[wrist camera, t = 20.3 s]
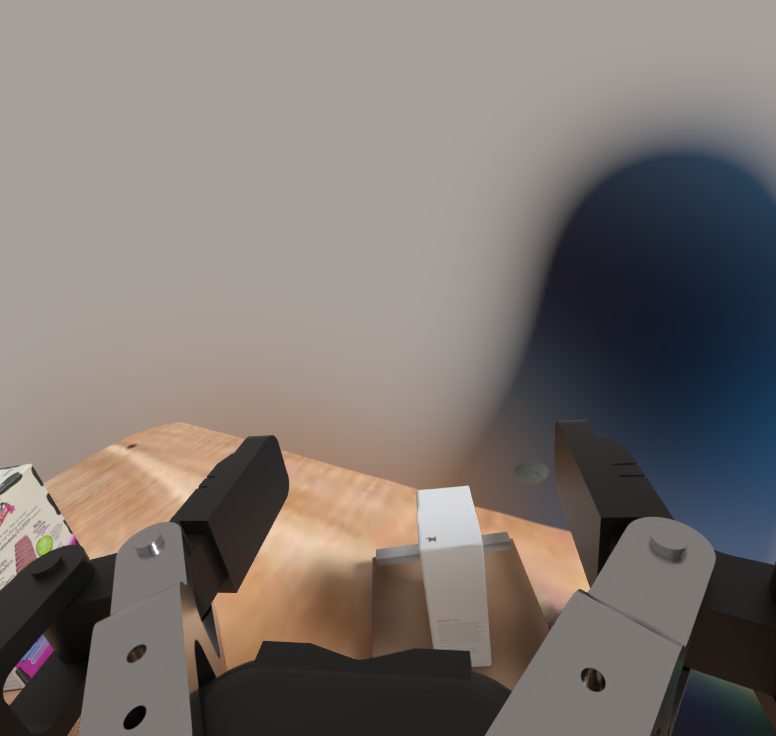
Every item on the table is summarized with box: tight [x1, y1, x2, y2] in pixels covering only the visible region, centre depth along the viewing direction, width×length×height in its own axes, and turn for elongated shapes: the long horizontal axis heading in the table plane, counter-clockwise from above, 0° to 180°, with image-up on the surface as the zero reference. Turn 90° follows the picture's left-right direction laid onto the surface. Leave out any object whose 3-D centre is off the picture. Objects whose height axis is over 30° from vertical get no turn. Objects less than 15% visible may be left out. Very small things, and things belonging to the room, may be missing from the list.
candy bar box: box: [0, 464, 80, 692], centre depth 38 cm, size 11×5×16 cm, turn 5°
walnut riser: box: [372, 532, 550, 691], centre depth 34 cm, size 14×16×3 cm
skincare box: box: [416, 486, 492, 667], centre depth 31 cm, size 6×4×12 cm
